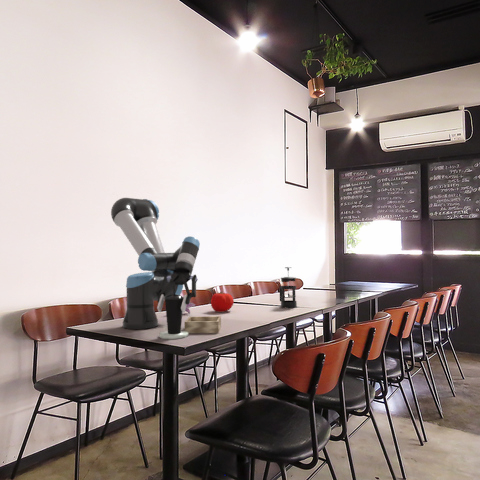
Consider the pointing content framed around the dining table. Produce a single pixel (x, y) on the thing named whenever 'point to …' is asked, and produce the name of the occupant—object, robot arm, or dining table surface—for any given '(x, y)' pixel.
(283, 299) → the french press
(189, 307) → the lily
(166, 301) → the drinking cup
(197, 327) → the crate
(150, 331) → the dining table surface
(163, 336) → the disc
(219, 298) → the tomato
